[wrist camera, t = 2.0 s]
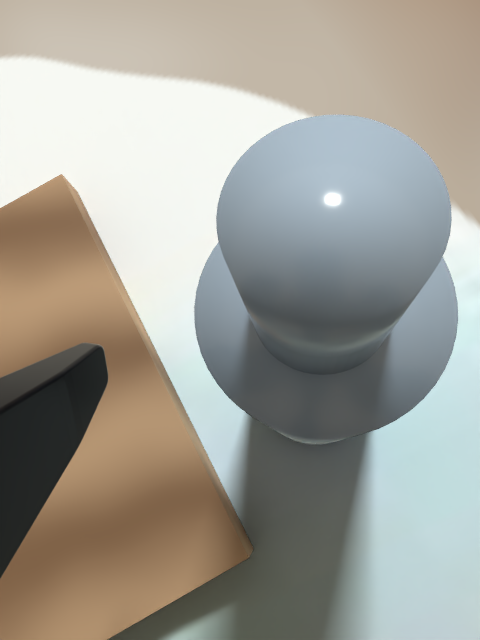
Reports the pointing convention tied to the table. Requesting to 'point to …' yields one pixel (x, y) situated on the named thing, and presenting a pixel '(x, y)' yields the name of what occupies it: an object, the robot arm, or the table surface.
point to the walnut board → (103, 444)
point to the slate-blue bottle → (329, 279)
